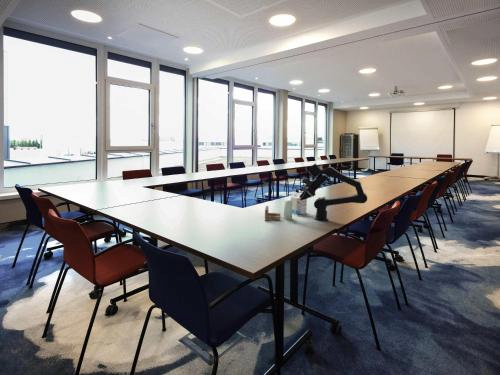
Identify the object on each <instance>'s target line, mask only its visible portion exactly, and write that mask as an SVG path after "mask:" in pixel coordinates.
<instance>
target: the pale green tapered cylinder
mask: <svg viewBox="0 0 500 375" xmlns="http://www.w3.org/2000/svg"><path fill="white" fill-rule="evenodd" d="M283 202H284V204H283V205H284V206H283V207H284V208H283V219H284V220H285V219H287V220H286V221H291V220H290V219H293V213H292V200H291V199H286V200H284V201H283Z"/></svg>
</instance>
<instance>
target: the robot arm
mask: <svg viewBox="0 0 500 375" xmlns="http://www.w3.org/2000/svg"><path fill="white" fill-rule="evenodd" d="M307 172H308V173H309V175H311V177H316V178H314V179H312V180H311V179H310V178H308V177H302V179H301V183H303V184H305V185H304V186H303V191H302V192H301V193H300V194H301V195H299V196H300V198H301V199H300V200H301V201H302V200H305V199H307V200H308V199H310V198H313V197H315V196H316V191H317V190H319V189H320V188H321V186H322V185H324V183H326V182H328V183H331V178H333V179H337V180H339V181H341V182H343V183H346V184H348V185H349V186H352V187H354V188H355V191H356V193H355V194H353V195H350V196H349V195H348V196H342V197H335V198H326V196H323V197H318V198H316V199H315V201H314V202H313V206H314V208H315V209H316V213H315V218H314V220H315V221H319V222H325V221H329V218H328V210H327V208H328V207H329V206H336V205H344V204H350V203H354V204H366V202H367V201H368V196H367V194H366V193H365V192H364V190H363V187H362V183H361V182H360V181H359V180H355V179H354V178H351V177H350V176H347V175H345V174H344V173H341V172H339V171H338V170H337V169H335V167H332V166H328V167H326V168H322V169H321V167H319V166H318V164H317V163H314V164H313V165H311V166H310V167H309V168H308V169H307Z"/></svg>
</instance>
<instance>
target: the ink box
mask: <svg viewBox="0 0 500 375" xmlns="http://www.w3.org/2000/svg"><path fill="white" fill-rule="evenodd" d="M301 194H302V193H293V194H292V195H290V200H292V214H294V215H296V214H297V215H305V213H306V214H307V210H308V209H307V204H308V198H307V199H305V200H302V201H301V200H300V199H301V198H300V195H301Z"/></svg>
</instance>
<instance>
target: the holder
mask: <svg viewBox="0 0 500 375" xmlns="http://www.w3.org/2000/svg"><path fill="white" fill-rule="evenodd" d="M279 220H280V221H281V213H280V212H279V213H278V212H269V205H265V208H264V221H265V222H268V221H279Z"/></svg>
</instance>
